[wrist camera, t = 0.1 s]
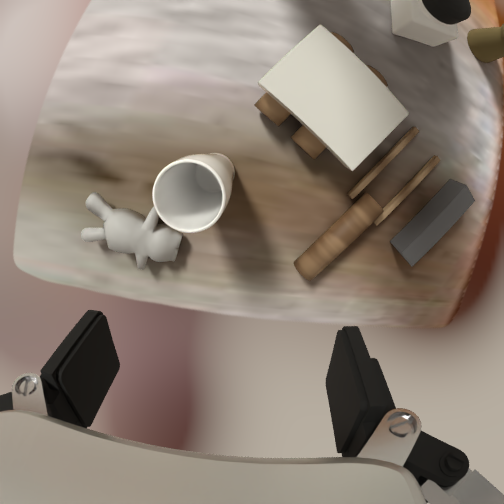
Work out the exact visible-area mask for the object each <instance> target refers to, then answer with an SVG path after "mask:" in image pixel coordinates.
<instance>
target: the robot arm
mask: <svg viewBox="0 0 504 504" xmlns="http://www.w3.org/2000/svg"><path fill="white" fill-rule="evenodd" d="M119 367H120V363H119V360H118V356H117V353H116V350H115V346H114V343H113V340H112V336H111V333H110V329H109V326H108V322H107V319H106V316H105V315H103V313H102V312H101V311H94V310H88V311H87V312H86V313H85V314H84V316H83V317H82V318H81V319H80V321H79V322H78V323H77V324H76V325H75V327H74V328H73V329H72V330H71V332H70V333H69V334H68V335H67V337H66V338H65V339H64V340H63V342H62V343H61V344H60V346H59V347H58V348H57V349H56V351H55V352H54V353H53V355H52V356H51V357H50V359H49V360H48V361H47V363H46V364H45V366H44V367H43V368H42V369H41V373H42V374H41V376H40V377H39V376H38V375H36V374H34V373H26V374H23V375H21V376H19V377H18V378H17V379H16V380H15V381H14V383H13V385H12V392H9V393H7V394H3V395H0V504H426V503H428V502H429V503H430V504H504V495H503V494H502V493H501V492H500V491H499V490H498V489H497V488H496V487H494V486H493V485H492V484H491V483H490V482H489V481H487V480H486V479H485V478H484V477H483V476H482V475H481V474H480V473H479V472H477V471H476V470H474V471H473V472H472V471H471V470H470V469H469V460H468V458H467V456H466V455H465V453H464V452H462V451H461V450H459V449H457V448H455V447H453V446H451V445H448V444H447V443H444V442H443V441H441V440H438V439H437V438H434V437H432V436H430V435H429V434H426V433H425V432H423V431H421V421H420V419H419V417H418V416H417V415H416V414H415V413H414V412H412V411H410V410H407V409H403V408H397V409H396V407H395V405H394V402H393V399H392V397H391V394H390V391H389V388H388V386H387V383H386V380H385V378H384V375H383V373H382V370H381V368H380V365H379V362H378V361H377V359H375V358H370V356H369V353H368V350H367V348H366V345H365V343H364V340H363V337H362V335H361V332H360V330H359V328H358V327H357V326H344V327H343V328H342V330H338V332H337V336H336V340H335V344H334V349H333V353H332V357H331V361H330V365H329V369H328V373H327V377H326V389H327V395H328V400H329V406H330V412H331V417H332V424H333V429H334V436H335V442H336V447H337V452H338V453H342V457H336V458H335V457H334V458H333V457H332V458H253V457H236V456H224V455H214V454H205V453H197V452H189V451H182V450H176V449H170V448H165V447H159V446H154V445H149V444H144V443H140V442H135V441H130V440H127V439H122V438H118V437H115V436H111V435H107V434H103V433H100V432H96V431H93V430H90V429H87V427H90V426H91V424H92V422H93V420H94V418H95V416H96V414H97V412H98V410H99V408H100V406H101V404H102V402H103V400H104V398H105V396H106V394H107V392H108V390H109V388H110V386H111V384H112V382H113V380H114V378H115V376H116V374H117V372H118V370H119Z"/></svg>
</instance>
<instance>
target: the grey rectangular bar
mask: <svg viewBox="0 0 504 504" xmlns="http://www.w3.org/2000/svg"><path fill="white" fill-rule="evenodd" d="M474 201H475V200H474V198H473V196H472V194H471V192H470V191H469V189H468V187H467V186H466V185H465V184H462V183H459V182H457V181H454V180H452V179H450V180H449V181H448V182H447V183H446V184H445V185H444V186H443V187H442V188H441V189H440V191H439V192H438V193H437V194H436V195H435V196H434V197H433V198H432V199H431V200H430V201H429V202H428V203H427V204H426V205H425V207H424V208H423V209H422V210H421V211H420V212H419V213H418V214H417V215H416V216H415V217H414V218H413V219H412V220H411V221H410V222H409V223H408V224H407V225H406V226H405V227H404V228H403V229H402V230H401V231H400V232H399V233H398V234H397V235H396V236H395V237H394V238H393V239H392V240H391V241H390V242H391V243H392V245H393V246H394V247H395V248H396V249H397V251H398V252H399V253H400V254H401V255H402V256H403V257H404V259H405V260H406V261H407V262H408V263H409V264H410V265H411V266H413V265H414V264H415V263H416V262H418V261H419V260H420V259H421V258H422V257H423V256H424V255H425V254H426V253H427V252H428V251H429V250H430V249H431V248H432V247H433V246H434V245H435V244H436V243H437V242H438V241H439V239H440V238H441V237H442V236H443V235H444V234H445V233H446V232H447V231H448V230H449V229H450V228H451V227H452V226H453V225H454V224H455V223H456V221H457V220H458V219H459V218H460V217H461V216H462V215H463V214H464V213H465V211H466V210H467V209H468V208H469V207H470V206H471V205H472V204H473V202H474Z"/></svg>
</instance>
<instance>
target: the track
mask: <svg viewBox="0 0 504 504" xmlns="http://www.w3.org/2000/svg"><path fill="white" fill-rule="evenodd" d="M330 33H331V34H333V35H334V36H335V37H336V38H337V39H338V40H339V41H341V42H342V43H343V44H344V45H345V46H346V47H347V48H348V49H349V50H350V51H351V52H352V53H354V50H353V48H352V46H351V45H350V44H349V43H348V42H347V41H346V40H345V39H344V38H343V37H342V36H340V35H339V34H337V33H334V32H330ZM366 66H367V67H368V68H369V69H370V70H371V71H372V72H373V73H374V74H375V75H376V76H377V77H378V78H379V80H380V81H381V82H382V83H383V84H384V85H385V86H386V87H387V86H388V85H387V82H386V80H385V79H384V77H383V76H382V75H381V74H380V73H379V72H378V71H377V70H376V69H374V68H373V67H371V66H369V65H366ZM255 106H256V107H257V108H258V109H259V110H260V111H261V112H262V113H263V114H264V115H266V116H267V117H268V118H269V119H270V120H271V121H273V122H274V123H275V124H276V125H277V126H280V124H281V123H282V122H283V121H284V120H285V119H286V118H287V117H288V116H289V115H290V114H291V113H289V112H288V111H287V110H286V109H285V108H284V107H283V106H282V105H280V104H279V103H278V102H277V101H276V100H275V99H274V98H272V97H271V96H270V95H269V94H268V93H267V92H266V93H265V94H264V95H263V96H262V97H261V98H260V99H259V100H258V102H257V103H256V104H255ZM418 132H419V130H418V129H417V128H416V127H412V128H411V129H410V130H409V131H408V132H407V133H406V134H405V135H404V137H403V138H402V139H401V140H400V141H399V142H398V143H397V144H396V145H395V146H394V147H393V148H392V149H391V150H390V151H389V152H388V153H387V154H386V155H385V156H384V157H383V158H382V159H381V160H380V161H379V162H378V163H377V164H376V165H375V166H374V167H373V168H372V169H371V170H370V171H369V172H368V173H367V174H366V175H365V176H364V177H363V178H362V179H361V180H360V181H359V182H358V183H357V184H356V185H355V186H354V187H353V188H352V189H351V190H350V191H349V192H348V193H347V194H348V195H349V196H350V197H351V198H352V199H354V198H355V197H356V196H357V195H358V194H359V193H360V192H361V191H362V190H363V189H364V188H365V187H366V186H367V185H368V184H369V183H370V182H371V181H372V180H373V179H374V178H375V177H376V176H377V175H378V174H379V173H380V172H381V171H382V170H383V169H384V168H385V167H386V166H387V164H388V163H389V162H390V161H391V160H392V159H393V158H394V157H395V156H396V155H397V154H398V153H399V152H400V151H401V150H402V149H403V148H404V147H405V146H406V145H407V144H408V143H409V142H410V141H411V140H412V139H413V138H414V137H415V136H416V134H417V133H418ZM291 138H292V139H293V140H294V141H295V142H296V143H297V144H298V145H299V146H300V147H301V148H302V149H303V150H304V151H305V152H306V153H307V154H308V155H309V156H311V157H312V158H313V159H315V158H316V157H317V156H318V155H319V154H320V153H321V152H322V151H323V150H324V149H325V148H326V147H325V146H324V145H323V144H322V143H321V142H320V141H319V140H318V139H317V138H316V137H315V136H314V135H313V134H312V133H311V132H310V131H309V130H308V129H307V128H306V127H305V126H304V125H302V126H301V127H300V128H299V129H298V130H297V131H296V132H295V133H294V134H293V135H292V136H291ZM439 161H440V159H439V158H438V156H435V155H434V156H433V157H432V158H431V159H430V160H429V162H428V163H427V164H426V165H425V166H424V167H423V168H422V169H421V170H420V171H419V172H418V173H417V174H416V175H415V176H414V177H413V178H412V179H411V181H410V182H409V183H408V184H407V185H406V186H405V187H404V188H403V189H402V190H401V191H400V192H399V193H398V194H397V195H396V196H395V197H394V198H393V199H392V200H391V201H390V202H389V203H388V204H387V205H386V206H385V207H384V208H383V211H384V212H383V213H382V214H381V215H380V216H379V217H378V218H377V219H376V220H375V221H374V222H373V223H374V224H375V225H376V226H377V225H378V224H380V223H381V222H382V221H383V220H384V219H385V218H386V217H387V216H388V215H389V214H390V213H391V212H392V211H393V210H394V209H395V208H396V207H397V206H398V205H399V204H400V203H401V202H402V200H403V199H404V198H405V197H406V196H407V195H408V194H409V193H410V192H411V191H412V190H413V189H414V188H415V187H416V186H417V185H418V184H419V183H420V182H421V181H422V180H423V179H424V178H425V177H426V175H427V174H428V173H429V172H430V171H431V170H432V169H433V168H434V167H435V166H436V165H437V164H438V163H439Z"/></svg>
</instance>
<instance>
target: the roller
mask: <svg viewBox="0 0 504 504" xmlns="http://www.w3.org/2000/svg"><path fill="white" fill-rule="evenodd" d="M383 212H384V211H383V209H382V208H381V207H380V206H379V204H378V203H377V202H376V201H375V200H374V199H373V198H372V197H371V196H370V195H369V194H368V193H366V192H365V193H364V194H363V195H362V196H361V197H360V198H359V199H358V200H357V201H356V202H355V203H354V204H353V205H352V206H351V207H350V208H349V209H348V210H347V211H346V212H345V213H344V214H343V215H342V216H341V217H340V218H339V219H338V220H337V221H336V222H335V223H334V224H333V225H332V226H331V227H330V228H329V229H328V230H327V231H326V232H325V233H324V234H323V235H322V236H321V237H320V238H318V239H317V240H316V241H315V242H314V243H313V244H312V245H311V246H310V247H309V248H308V249H307V250H306V251H305V252H304V253H303V254H302V255H301V256H300V257H299V258H297V259H296V260H295V261H294V266H295V267H296V269H297V270H298V271H299V273H300V274H301V275H302V276H303V277H304V278H306V279H307V280H309V281H311V280H312V279H313V278H314V277H316V276H317V275H318V274H319V273H320V272H321V271H322V270H323V269H324V268H325V267H327V266H328V265H329V264H330V263H331V262H332V261H333V260H334V259H335V258H336V257H337V256H338V255H340V254H341V253H342V252H343V251H344V250H345V249H346V248H347V247H348V246H349V245H350V244H351V243H352V242H353V241H354V240H355V239H356V238H357V237H359V236H360V235H361V234H362V233H363V232H364V231H365V230H366V229H367V228H368V227H369V226H370V225H371V224H372V223H373V222H374V221H375V220H376V219H377V218H378V217H379V216H380V215H381V214H382V213H383Z"/></svg>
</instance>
